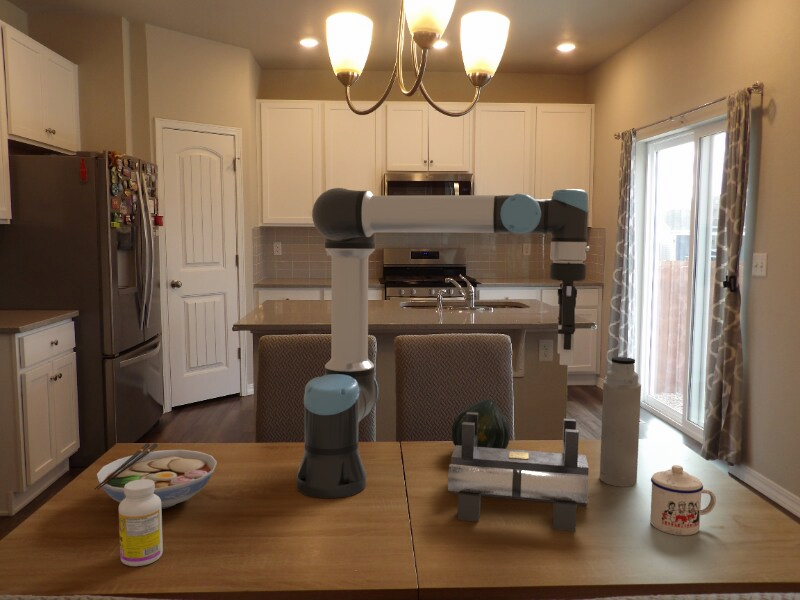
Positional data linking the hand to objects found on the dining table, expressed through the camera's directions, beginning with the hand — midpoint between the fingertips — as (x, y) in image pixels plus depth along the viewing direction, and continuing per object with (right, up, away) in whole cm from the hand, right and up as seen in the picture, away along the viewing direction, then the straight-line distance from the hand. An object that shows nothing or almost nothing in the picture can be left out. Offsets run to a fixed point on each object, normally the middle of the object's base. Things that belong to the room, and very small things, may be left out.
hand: (564, 359), depth 141 cm
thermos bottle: (+13, -28, +5) cm, 31 cm away
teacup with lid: (+18, -30, -19) cm, 40 cm away
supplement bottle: (-80, -31, -33) cm, 91 cm away
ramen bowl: (-85, -28, -11) cm, 90 cm away
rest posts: (-14, -30, -17) cm, 37 cm away
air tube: (-14, -25, -18) cm, 33 cm away
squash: (-16, -26, +21) cm, 37 cm away
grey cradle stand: (-11, -28, -3) cm, 30 cm away
